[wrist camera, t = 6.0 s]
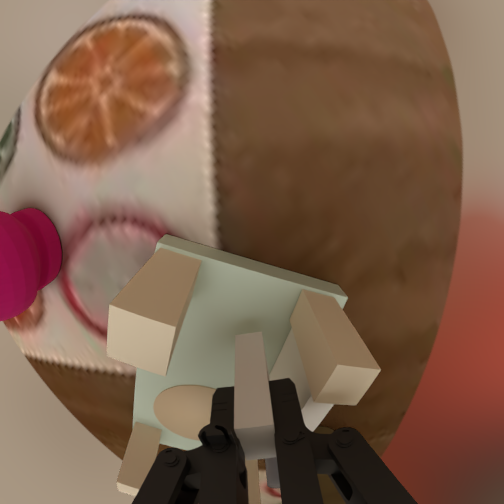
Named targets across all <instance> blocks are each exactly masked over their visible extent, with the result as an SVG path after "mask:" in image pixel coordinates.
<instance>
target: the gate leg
mask: <svg viewBox="0 0 504 504" xmlns="http://www.w3.org/2000/svg"><path fill="white" fill-rule="evenodd" d="M290 323H291V327H292V328H291V330H290V332H289V335H288V337H287V339H286V341H285V343H284V345H283V348H282V350H281V352H280V354H279V356H278V358H277V360H276V362H275V364H274V366H273V369H272V371H271V373H270V375H269V379H270V381H272V380H278V379H284V378H290V379H291V380H292V381H293V382H294V383H295V386H296V390H297V395H298V399H299V403H300V407H301V412H302V416H303V420H304V424H305V426H306V427H307V428H308V429H309V430H310V431H312V432H313V431H314V430H315V429H316V428H317V426H318V425H319V424H320V423H321V421H322V420H323V419H324V417H325V416H326V415H327V413H328V412H329V411H330V409H331V408H332V406H333V405H334V404H341V405H357V403H358V402H359V401H360V399H361V398H362V397H363V395H364V394H365V392H366V391H367V390H368V388H369V387H370V385H371V384H372V382H373V381H374V380H375V378H376V377H377V375H378V374H379V372H380V371H381V369H380V367H379V366H378V364H377V363H376V361H375V359H374V358H373V356H372V355H371V353H370V351H369V350H368V348H367V347H366V345H365V343H364V342H363V340H362V339H361V337H360V336H359V334H358V333H357V331H356V329H355V328H354V326H353V325H352V323H351V322H350V320H349V319H348V317H347V316H346V314H345V313H344V311H343V310H342V308H341V307H340V305H339V304H338V302H337V301H336V299H335V298H334V297H330V296H327V295H323V294H319V293H315V292H312V291H308V290H304V289H302V292H301V294H300V296H299V299H298V301H297V303H296V306H295V308H294V310H293V313H292V315H291V317H290Z"/></svg>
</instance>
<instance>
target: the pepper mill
mask: <svg viewBox="0 0 504 504" xmlns="http://www.w3.org/2000/svg"><path fill="white" fill-rule="evenodd" d="M61 261H62V249H61V244H60V239H59V236H58V234H57V231H56V229H55V227H54V225H53V224H52V222H51V220H50V219H49V218H48V217H47V216H46V215H45V214H44V213H42V212H41V211H39V210H37V209H34V208H26V209H23V210H20V211H17V212H14V213H12V214H8V213H5V212H1V211H0V321H4V320H7V319H10V318H12V317H15V316H17V315H19V314H20V313H22V312H23V311H25V310H26V309H28V308H29V307H30V305H31V304H32V303H33V302H34V300H35V298H36V295H37V291H38V290H40V289H42V288H43V287H45V286H46V285H47V284H49V283H50V282H51V281H53V280H54V279H55V278H56V276H57V275H58V273H59V270H60V266H61Z"/></svg>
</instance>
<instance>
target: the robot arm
mask: <svg viewBox="0 0 504 504" xmlns="http://www.w3.org/2000/svg"><path fill="white" fill-rule="evenodd" d="M198 437H199V439H200V441H201V443H202V445H201V446H200V447H197V448H195V449H191V450H188V451H184V452H183V451H182V450H180V449H178V448H167V449H164V450H163V451H161V452H160V453H159V454H158V456H157V457H156V459H155V461H154V463H153V465H152V467H151V469H150V471H149V472H148V474H147V476H146V478H145V480H144V482H143V484H142V486H141V487H140V489H139V491H138V493H137V495H136V497H135V499H134V501H133V502H132V504H198V503H199V504H249V499H248V475H247V468H246V466H245V458H246V461H247V460H257V459H266V458H274V457H277V465H278V474H279V482H280V490H281V498H282V504H324V503H323V498H322V494H321V489H320V485H319V480H318V476H317V474H327V475H328V476H329V478H330V479H331V481H332V483H333V484H334V486H335V487H336V489H337V491H338V492H339V494H340V495H341V497H342V498H343V500H344V501H345V503H346V504H418V503H417V502H416V501H415V500H414V499H413V498H412V496H411V495H410V494H409V493H408V492H407V490H406V489H405V488H404V487H403V486H402V484H401V483H400V482H399V481H398V480H397V478H396V477H395V476H394V475H393V473H392V472H391V471H390V470H389V469H388V467H387V466H386V465H385V464H384V462H383V461H382V460H381V459H380V458H379V456H378V455H377V454H376V453H375V451H374V450H373V449H372V448H371V446H370V445H369V444H368V443H367V441H366V440H365V439H364V438H363V436H362V435H361V434H360V433H359V432H358V431H357V430H356V429H353V428H350V427H343V428H340V429H337V430H335V431H334V432H332V433H331V434H320V433H315V432H312V431H310V430H309V429H308V428H307V427H306V426H305V424H304V420H303V416H302V412H301V407H300V403H299V399H298V395H297V390H296V386H295V383H294V382H293V381H292V380H291V379H290V378H284V379H278V380H272V381H270V379H269V371H268V365H267V359H266V353H265V347H264V342H263V336H262V331H261V332H254V333H247V334H240V335H235V383H234V386H231V387H221V388H217V389H216V391H215V392H214V394H213V396H212V406H211V417H210V424H208V425H206V426H204V427H203V428H202V429H201V430H200V431H199V434H198Z"/></svg>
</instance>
